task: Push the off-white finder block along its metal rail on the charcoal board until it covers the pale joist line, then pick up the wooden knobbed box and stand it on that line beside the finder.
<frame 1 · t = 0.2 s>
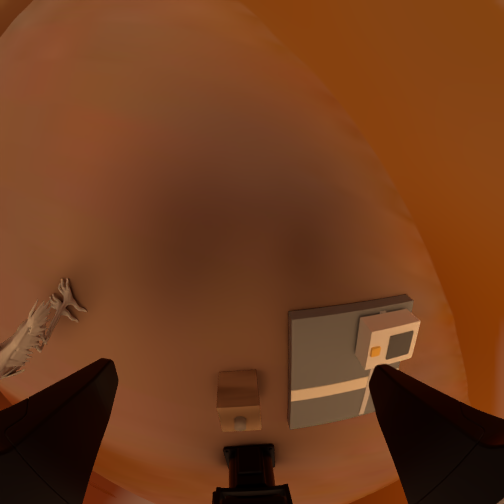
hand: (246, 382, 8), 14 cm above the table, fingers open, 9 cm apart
wooden knobbed box: (239, 383, 25), on the table
finder: (388, 339, 21), point 3 cm above the table, slide at 0.0 cm
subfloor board: (345, 366, 25), on the table
figurine: (70, 300, 22), on the table
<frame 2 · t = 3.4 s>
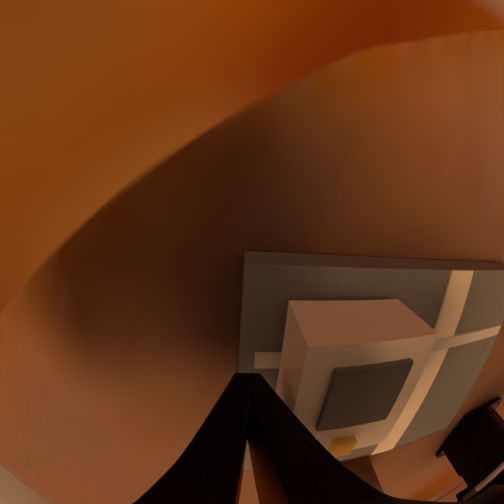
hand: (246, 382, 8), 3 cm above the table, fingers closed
wooden knobbed box: (339, 471, 15), on the table
finder: (346, 386, 8), point 3 cm above the table, slide at 0.9 cm, touching gripper
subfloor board: (386, 371, 12), on the table
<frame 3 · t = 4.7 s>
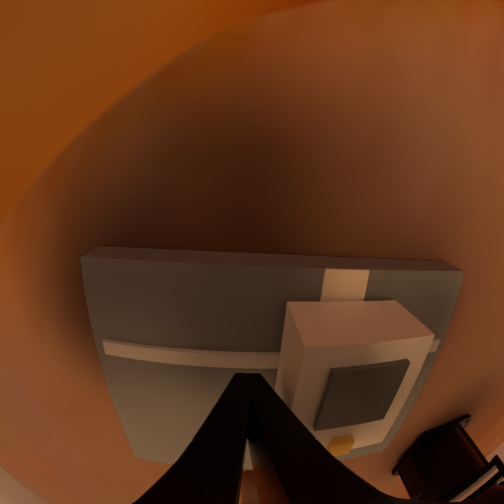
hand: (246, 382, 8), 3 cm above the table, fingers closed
wooden knobbed box: (266, 480, 14), on the table
finder: (343, 386, 8), point 3 cm above the table, slide at 6.5 cm, touching gripper
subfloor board: (277, 381, 11), on the table
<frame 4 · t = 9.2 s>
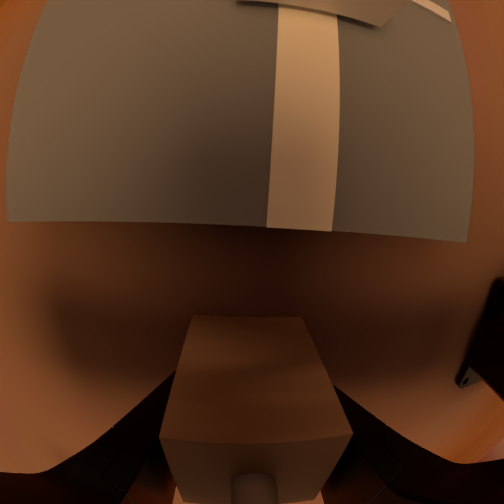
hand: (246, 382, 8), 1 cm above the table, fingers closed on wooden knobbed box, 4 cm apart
wooden knobbed box: (245, 359, 9), on the table, touching gripper
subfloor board: (249, 32, 6), on the table
when the fingers open (4 cm above the table, at t = 13.5 s): wooden knobbed box drops 1 cm, resting on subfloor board.
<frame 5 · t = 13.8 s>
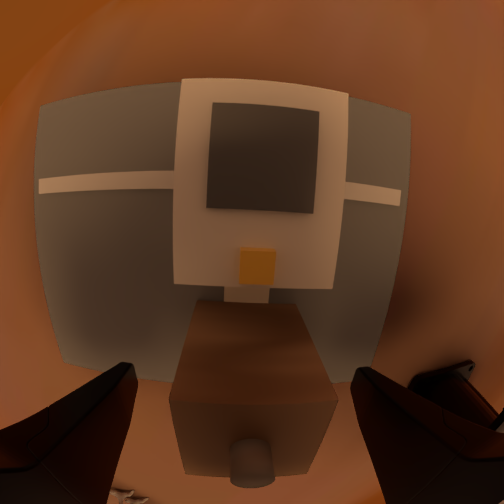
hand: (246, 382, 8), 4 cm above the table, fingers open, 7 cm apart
wooden knobbed box: (244, 343, 10), point 2 cm above the table, touching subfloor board
finder: (257, 182, 7), point 3 cm above the table, slide at 6.5 cm
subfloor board: (209, 243, 11), on the table
figurine: (130, 493, 17), on the table
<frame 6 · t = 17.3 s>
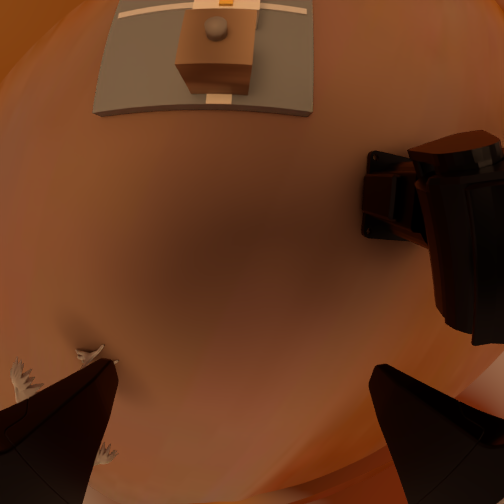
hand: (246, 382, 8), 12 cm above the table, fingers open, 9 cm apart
wooden knobbed box: (221, 69, 14), point 2 cm above the table, touching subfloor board
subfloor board: (206, 39, 15), on the table
figurine: (100, 358, 21), on the table
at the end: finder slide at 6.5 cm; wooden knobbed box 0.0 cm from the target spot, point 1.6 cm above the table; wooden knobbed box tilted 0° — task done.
